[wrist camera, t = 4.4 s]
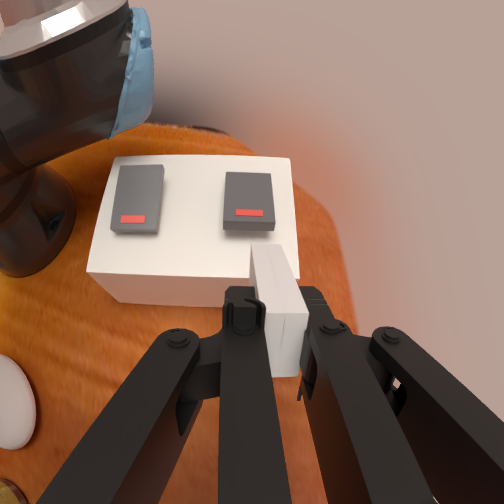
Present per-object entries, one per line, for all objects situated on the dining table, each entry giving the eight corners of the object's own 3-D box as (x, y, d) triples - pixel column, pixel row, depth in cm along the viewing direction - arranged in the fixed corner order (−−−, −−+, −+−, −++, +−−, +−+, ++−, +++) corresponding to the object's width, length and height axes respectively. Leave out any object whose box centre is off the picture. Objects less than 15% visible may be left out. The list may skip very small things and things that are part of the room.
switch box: (280, 308, 32) (300, 276, 24) (119, 302, 31) (84, 270, 22) (276, 207, 37) (290, 154, 29) (135, 204, 36) (114, 152, 27)
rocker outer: (273, 231, 24) (275, 221, 23) (222, 229, 23) (222, 219, 22) (269, 182, 27) (270, 172, 26) (225, 180, 27) (225, 170, 26)
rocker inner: (157, 233, 24) (154, 229, 23) (113, 232, 24) (109, 228, 23) (164, 169, 25) (162, 163, 24) (123, 170, 25) (119, 165, 24)
